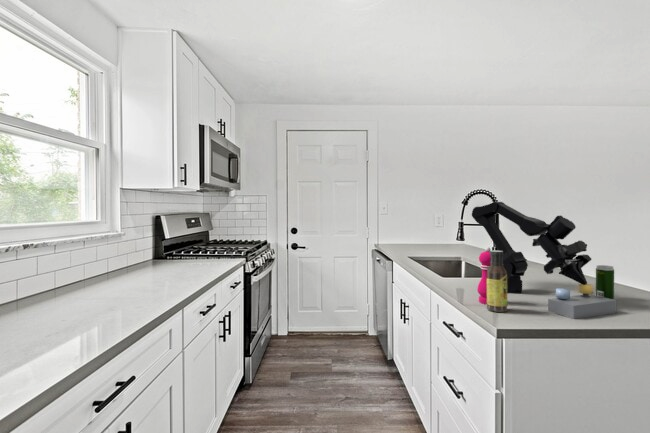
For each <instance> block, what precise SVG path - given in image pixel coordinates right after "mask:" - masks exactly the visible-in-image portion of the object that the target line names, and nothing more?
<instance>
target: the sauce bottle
mask: <svg viewBox="0 0 650 433" xmlns="http://www.w3.org/2000/svg"><path fill="white" fill-rule="evenodd" d="M490 256H491V262H490V263H491V265H490V267H489V268H488V270H487V304H486V309H487V310H488V311H489V312H496V313H503V312H506V311H507V310H508V293H507V272H506V270H505V268H504V266H503V251H499V250H496V249H495V250H490Z"/></svg>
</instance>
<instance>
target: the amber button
mask: <svg viewBox="0 0 650 433" xmlns="http://www.w3.org/2000/svg"><path fill="white" fill-rule="evenodd" d="M578 293H581V294H582V295H583V297H586V298H587V297H589V294H591V295H594V285H593V284H589V283H587V284H586V285H583V284H581V283H578Z"/></svg>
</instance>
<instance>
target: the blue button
mask: <svg viewBox="0 0 650 433" xmlns="http://www.w3.org/2000/svg"><path fill="white" fill-rule="evenodd" d="M570 296H571V290H570V289H568V288H558V287H557V288H555V298H560V300H566V299H570Z"/></svg>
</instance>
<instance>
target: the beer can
mask: <svg viewBox="0 0 650 433" xmlns="http://www.w3.org/2000/svg"><path fill="white" fill-rule="evenodd" d="M595 296H600V297H604V298H609V299H613V300H615V299H614V298H615V269H614V266H612V265H603V264H602V265H599V264H598V265H596V268H595Z"/></svg>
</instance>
